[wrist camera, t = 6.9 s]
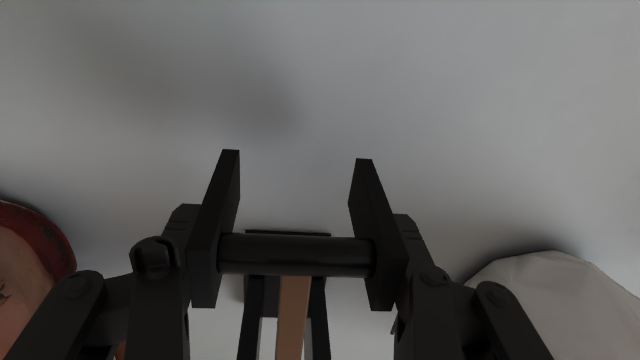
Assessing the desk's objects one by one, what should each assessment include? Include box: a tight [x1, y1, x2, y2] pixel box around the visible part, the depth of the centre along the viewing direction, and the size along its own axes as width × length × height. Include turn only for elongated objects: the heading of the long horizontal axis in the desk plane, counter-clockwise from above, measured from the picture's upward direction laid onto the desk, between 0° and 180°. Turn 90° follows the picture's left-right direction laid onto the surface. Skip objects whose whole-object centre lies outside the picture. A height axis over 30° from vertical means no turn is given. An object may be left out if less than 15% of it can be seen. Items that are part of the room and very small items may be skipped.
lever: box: [216, 232, 376, 360], centre depth 15 cm, size 13×6×2 cm, turn 174°
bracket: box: [237, 230, 331, 360], centre depth 21 cm, size 8×6×12 cm
